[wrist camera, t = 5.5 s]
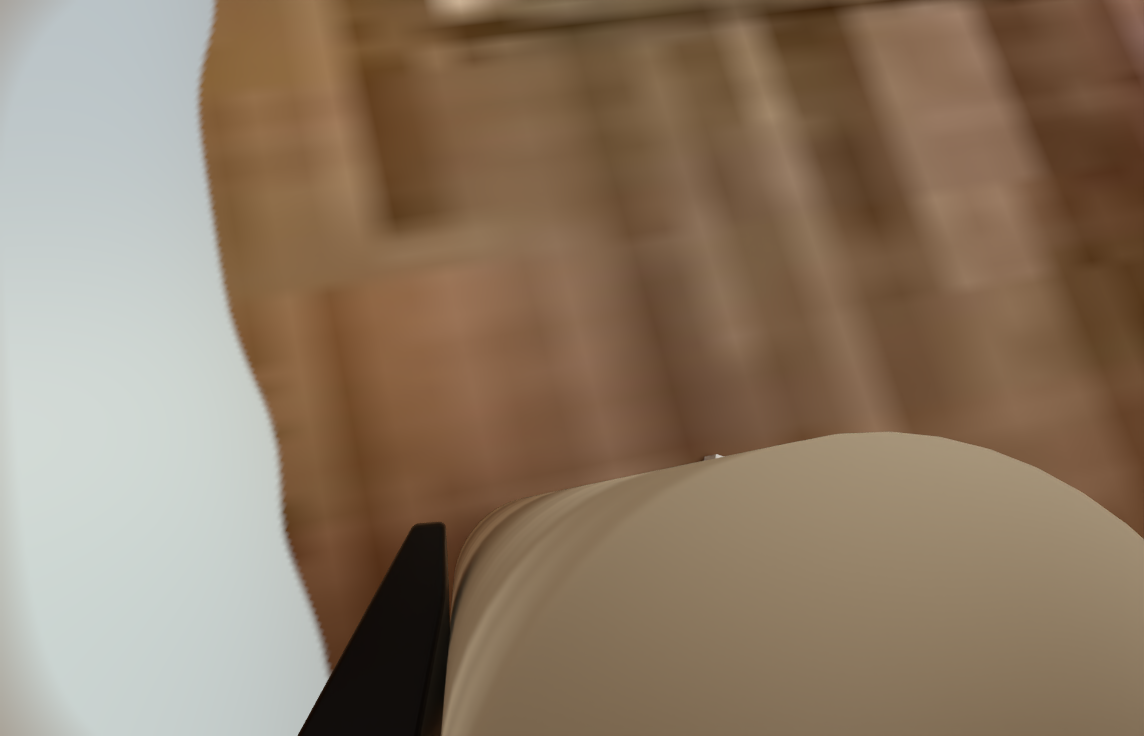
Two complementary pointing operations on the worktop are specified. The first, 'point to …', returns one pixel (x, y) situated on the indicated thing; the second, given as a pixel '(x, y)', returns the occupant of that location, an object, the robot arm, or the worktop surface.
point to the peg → (803, 601)
